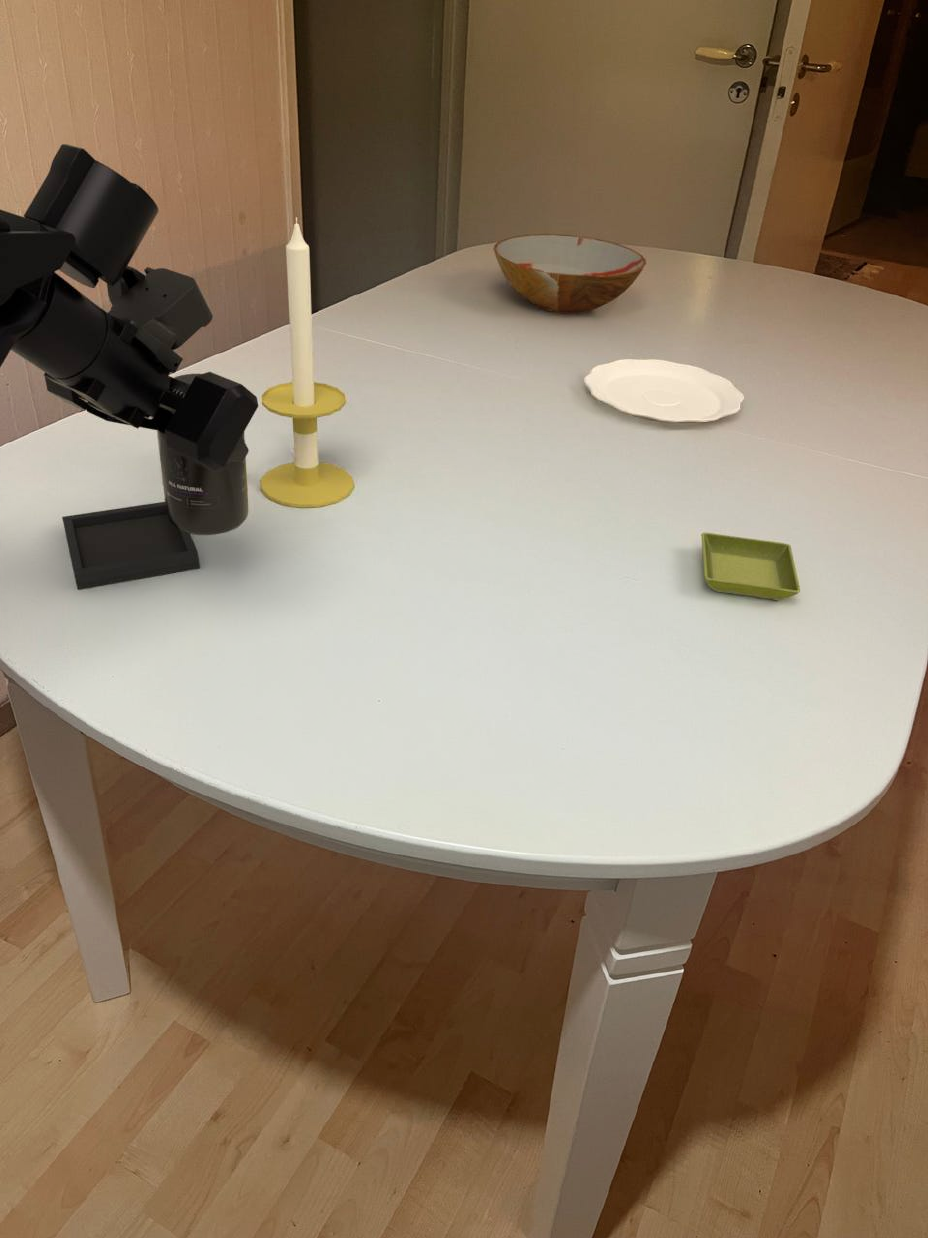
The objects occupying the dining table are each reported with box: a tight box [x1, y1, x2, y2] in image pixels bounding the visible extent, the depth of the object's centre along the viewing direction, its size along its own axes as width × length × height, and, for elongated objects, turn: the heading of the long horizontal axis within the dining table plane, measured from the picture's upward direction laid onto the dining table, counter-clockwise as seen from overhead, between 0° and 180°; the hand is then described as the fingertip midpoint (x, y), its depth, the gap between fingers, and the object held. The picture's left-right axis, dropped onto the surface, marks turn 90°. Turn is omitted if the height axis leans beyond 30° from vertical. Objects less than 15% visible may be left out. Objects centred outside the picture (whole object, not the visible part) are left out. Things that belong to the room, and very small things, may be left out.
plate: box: [583, 358, 745, 424], centre depth 124 cm, size 21×21×2 cm
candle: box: [259, 216, 355, 509], centre depth 91 cm, size 10×10×27 cm
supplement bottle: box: [156, 372, 249, 536], centre depth 76 cm, size 7×7×12 cm
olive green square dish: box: [700, 532, 801, 601], centre depth 88 cm, size 9×9×2 cm
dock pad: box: [61, 501, 201, 590], centre depth 86 cm, size 11×11×2 cm
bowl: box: [493, 233, 647, 314], centre depth 154 cm, size 25×25×8 cm
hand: (215, 442), depth 76 cm, fingers closed on supplement bottle, 7 cm apart
